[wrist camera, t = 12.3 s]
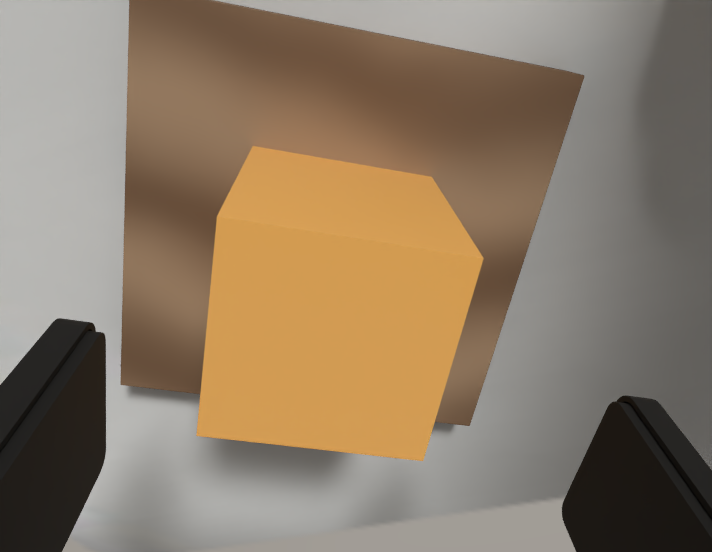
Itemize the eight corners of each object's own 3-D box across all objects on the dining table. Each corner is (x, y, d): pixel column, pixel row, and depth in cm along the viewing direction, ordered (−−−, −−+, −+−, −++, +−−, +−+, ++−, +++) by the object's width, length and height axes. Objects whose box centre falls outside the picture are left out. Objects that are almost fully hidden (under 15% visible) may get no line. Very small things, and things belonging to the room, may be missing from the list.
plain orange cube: (252, 145, 19) (217, 216, 13) (431, 176, 20) (483, 258, 13) (234, 308, 21) (196, 435, 15) (394, 330, 22) (422, 460, 16)
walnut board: (144, -14, 18) (67, -23, 13) (566, 70, 20) (658, 94, 14) (132, 362, 24) (75, 468, 18) (461, 403, 25) (499, 510, 20)
